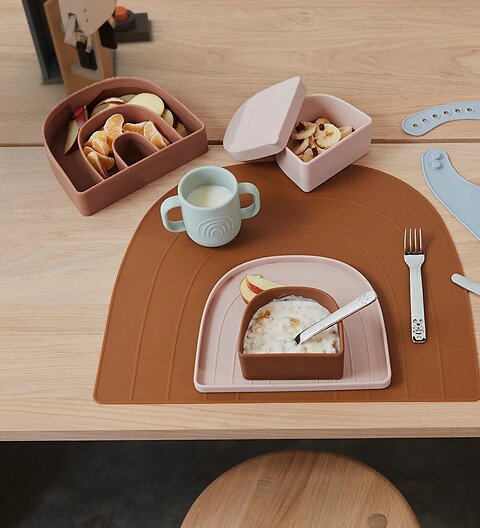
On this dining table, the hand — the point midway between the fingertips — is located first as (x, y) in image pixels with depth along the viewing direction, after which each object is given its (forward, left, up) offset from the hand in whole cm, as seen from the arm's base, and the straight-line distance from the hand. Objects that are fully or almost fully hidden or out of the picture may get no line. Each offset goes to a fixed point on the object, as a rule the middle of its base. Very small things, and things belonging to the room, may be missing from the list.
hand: (99, 57), depth 129 cm
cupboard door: (-1, +5, -14) cm, 15 cm away
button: (+2, +31, -10) cm, 32 cm away
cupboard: (-7, +19, -14) cm, 24 cm away
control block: (+2, +31, -14) cm, 34 cm away
